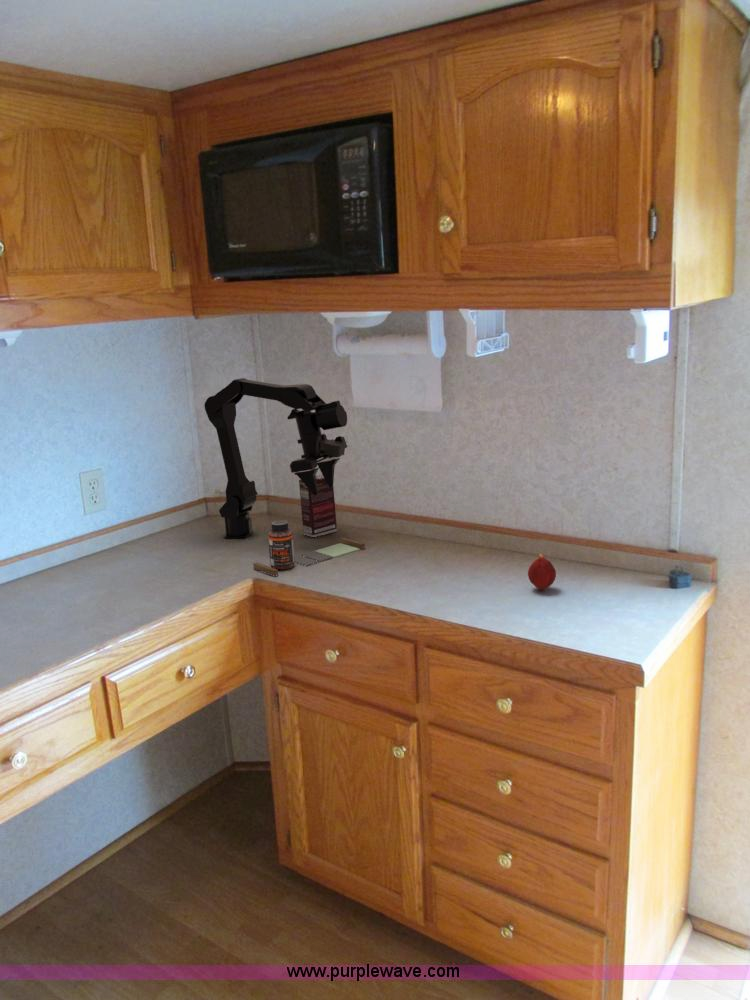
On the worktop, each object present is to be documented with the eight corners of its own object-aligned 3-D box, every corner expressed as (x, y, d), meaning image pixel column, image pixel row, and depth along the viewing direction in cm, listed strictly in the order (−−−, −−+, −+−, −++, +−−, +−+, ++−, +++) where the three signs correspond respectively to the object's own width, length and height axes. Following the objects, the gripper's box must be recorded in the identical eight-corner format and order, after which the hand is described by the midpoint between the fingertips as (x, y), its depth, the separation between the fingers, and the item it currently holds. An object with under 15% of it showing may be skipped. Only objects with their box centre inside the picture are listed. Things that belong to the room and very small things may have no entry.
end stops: (274, 577, 195) (274, 570, 195) (253, 569, 202) (253, 563, 201) (365, 549, 213) (364, 543, 213) (343, 542, 220) (342, 537, 219)
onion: (561, 589, 177) (561, 553, 175) (545, 596, 173) (545, 560, 171) (538, 583, 181) (538, 548, 179) (522, 591, 177) (522, 555, 175)
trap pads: (306, 566, 202) (306, 565, 202) (287, 559, 208) (287, 558, 208) (332, 558, 207) (332, 557, 207) (312, 552, 213) (312, 551, 213)
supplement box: (327, 528, 234) (323, 473, 230) (337, 531, 230) (333, 476, 227) (302, 535, 229) (297, 479, 225) (312, 538, 225) (308, 481, 221)
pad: (333, 557, 207) (333, 556, 207) (314, 551, 213) (314, 550, 213) (359, 549, 213) (359, 548, 213) (340, 544, 219) (340, 543, 218)
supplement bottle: (272, 572, 199) (268, 526, 196) (269, 564, 205) (265, 520, 202) (296, 569, 200) (293, 524, 198) (293, 561, 206) (289, 518, 203)
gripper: (321, 434, 204) (335, 495, 206) (352, 422, 220) (365, 478, 223) (282, 441, 208) (296, 500, 211) (316, 429, 225) (328, 484, 228)
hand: (323, 490), depth 218 cm, fingers open, 9 cm apart
